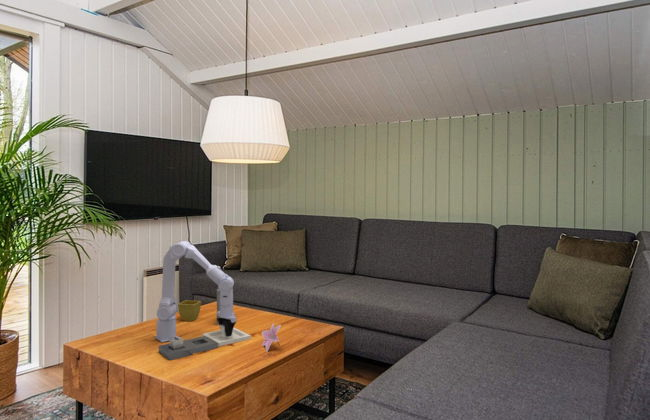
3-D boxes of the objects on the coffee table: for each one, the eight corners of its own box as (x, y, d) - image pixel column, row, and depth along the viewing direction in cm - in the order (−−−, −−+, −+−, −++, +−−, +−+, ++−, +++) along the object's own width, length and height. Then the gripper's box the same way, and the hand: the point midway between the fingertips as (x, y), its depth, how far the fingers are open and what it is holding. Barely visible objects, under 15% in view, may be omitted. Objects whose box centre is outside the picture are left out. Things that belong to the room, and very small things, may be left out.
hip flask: (228, 316, 235) (228, 279, 234) (235, 317, 234) (235, 279, 234) (215, 325, 219) (215, 285, 219) (223, 326, 219) (223, 285, 218)
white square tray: (202, 338, 200) (202, 333, 200) (233, 331, 210) (233, 327, 210) (218, 347, 188) (218, 342, 188) (250, 339, 198) (250, 335, 198)
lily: (262, 344, 197) (254, 327, 193) (287, 333, 197) (279, 316, 194) (265, 361, 186) (256, 344, 182) (291, 350, 186) (283, 333, 183)
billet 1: (169, 353, 182) (169, 337, 182) (179, 350, 184) (179, 335, 184) (173, 355, 179) (173, 340, 179) (183, 353, 181) (183, 338, 181)
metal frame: (158, 351, 183) (158, 345, 183) (204, 341, 196) (204, 335, 196) (169, 360, 174) (169, 353, 174) (217, 349, 187) (217, 343, 187)
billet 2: (220, 337, 200) (220, 324, 199) (228, 335, 202) (228, 322, 202) (224, 340, 197) (224, 326, 196) (232, 338, 199) (232, 324, 199)
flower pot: (185, 317, 234) (185, 300, 234) (201, 317, 233) (201, 300, 233) (177, 321, 225) (177, 304, 225) (194, 322, 224) (194, 304, 224)
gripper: (242, 306, 196) (242, 337, 196) (226, 300, 207) (226, 329, 207) (228, 309, 191) (228, 340, 192) (212, 302, 202) (212, 332, 203)
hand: (226, 334), depth 199 cm, fingers closed on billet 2, 4 cm apart
